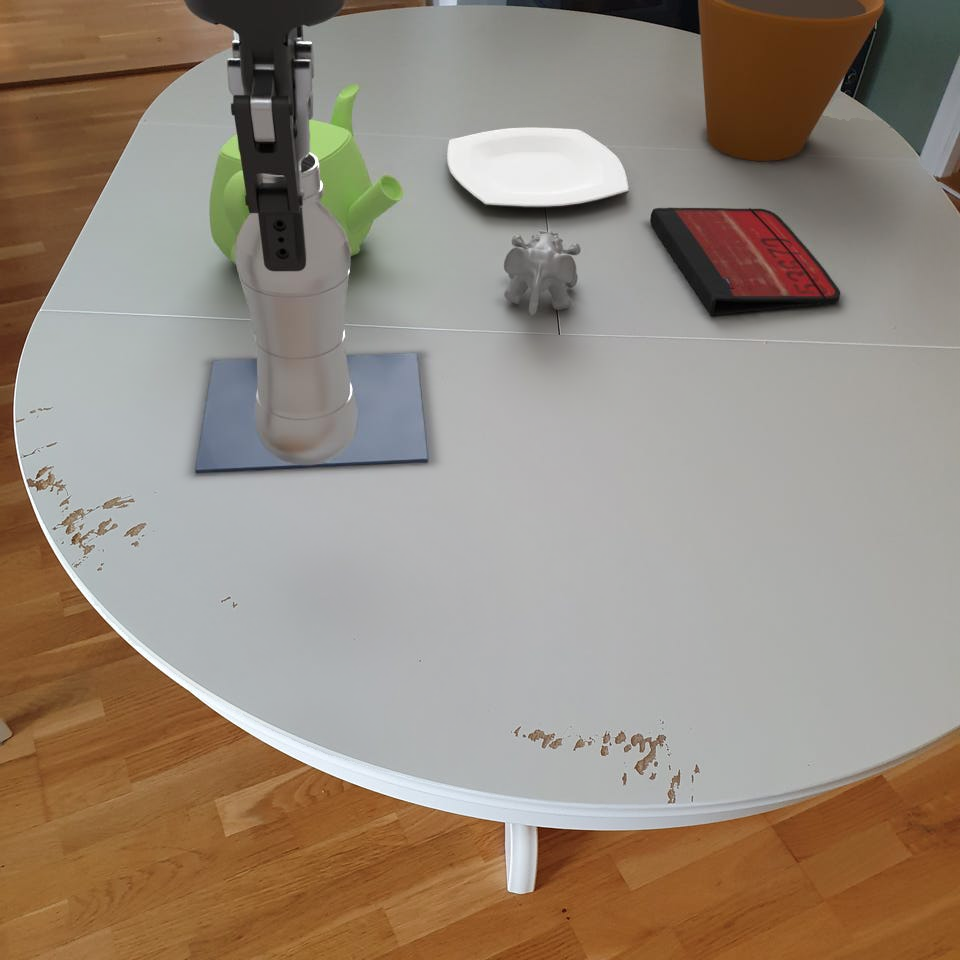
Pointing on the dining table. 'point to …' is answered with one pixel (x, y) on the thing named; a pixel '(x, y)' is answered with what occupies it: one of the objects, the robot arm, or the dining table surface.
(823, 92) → the flower pot
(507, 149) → the plate
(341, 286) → the silver metal bottle
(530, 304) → the gray elephant figurine
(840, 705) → the dining table surface
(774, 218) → the notebook
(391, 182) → the teapot
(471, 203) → the dining table surface
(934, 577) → the dining table surface
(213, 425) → the flat rectangular board
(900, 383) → the dining table surface
